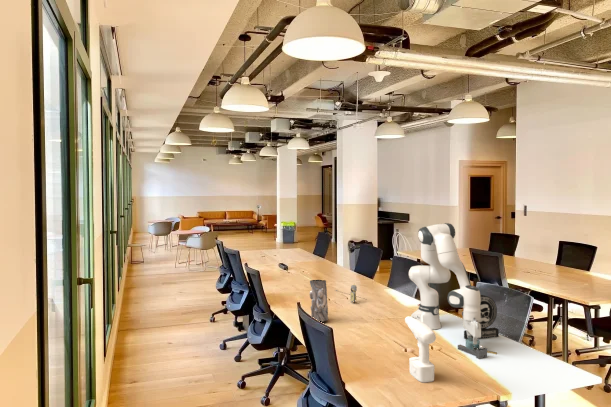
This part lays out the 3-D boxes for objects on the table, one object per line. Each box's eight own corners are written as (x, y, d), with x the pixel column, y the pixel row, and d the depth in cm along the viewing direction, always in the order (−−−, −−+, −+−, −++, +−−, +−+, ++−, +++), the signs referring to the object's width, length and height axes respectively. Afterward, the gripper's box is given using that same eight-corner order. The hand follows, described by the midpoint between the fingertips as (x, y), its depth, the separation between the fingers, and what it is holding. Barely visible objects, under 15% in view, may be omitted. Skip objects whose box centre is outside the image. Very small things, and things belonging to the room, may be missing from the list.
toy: (334, 302, 354) (334, 283, 353) (364, 299, 361) (364, 281, 361) (338, 305, 345) (338, 285, 344) (369, 302, 352) (369, 283, 352)
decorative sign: (466, 340, 261) (466, 297, 260) (463, 338, 264) (463, 296, 263) (498, 336, 267) (498, 294, 266) (495, 335, 269) (495, 293, 269)
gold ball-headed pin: (482, 352, 241) (482, 350, 241) (483, 351, 243) (483, 349, 243) (495, 354, 238) (495, 353, 238) (497, 353, 239) (497, 352, 239)
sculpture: (326, 324, 294) (326, 281, 293) (308, 323, 296) (307, 281, 296) (329, 319, 305) (329, 278, 305) (311, 318, 308) (311, 277, 307)
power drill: (415, 364, 225) (415, 314, 225) (440, 384, 202) (440, 328, 201) (399, 365, 223) (399, 315, 223) (422, 386, 200) (422, 329, 199)
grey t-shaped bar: (455, 349, 245) (455, 338, 245) (463, 347, 248) (463, 336, 248) (479, 359, 231) (479, 346, 231) (487, 357, 234) (487, 344, 234)
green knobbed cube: (465, 347, 248) (465, 339, 248) (472, 346, 251) (472, 337, 251) (472, 350, 244) (472, 342, 244) (479, 348, 246) (479, 340, 246)
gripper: (484, 321, 236) (484, 347, 236) (472, 311, 256) (472, 335, 257) (472, 321, 236) (472, 347, 236) (460, 311, 257) (460, 335, 257)
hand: (472, 341), depth 247 cm, fingers open, 8 cm apart
